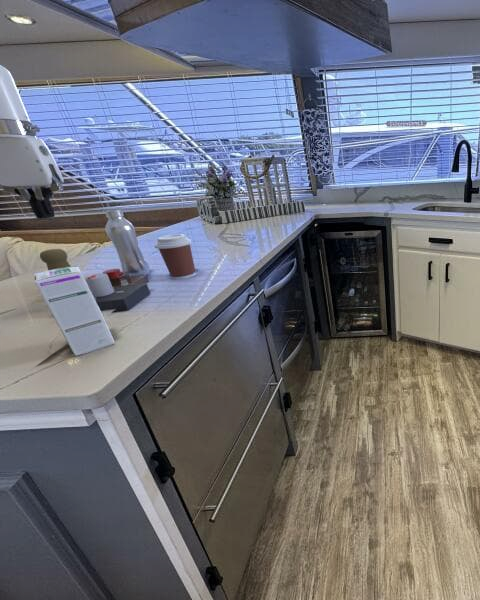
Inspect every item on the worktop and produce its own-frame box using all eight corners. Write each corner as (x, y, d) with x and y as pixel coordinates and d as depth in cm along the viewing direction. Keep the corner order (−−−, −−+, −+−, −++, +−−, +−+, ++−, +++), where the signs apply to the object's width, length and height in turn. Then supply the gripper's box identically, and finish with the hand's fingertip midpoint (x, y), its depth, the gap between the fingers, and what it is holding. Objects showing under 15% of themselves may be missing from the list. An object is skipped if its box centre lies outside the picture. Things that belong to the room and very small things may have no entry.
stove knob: (97, 291, 78) (89, 273, 76) (118, 289, 79) (110, 271, 77) (85, 298, 74) (76, 279, 72) (107, 296, 75) (99, 276, 73)
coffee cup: (198, 269, 104) (187, 232, 99) (203, 275, 97) (192, 236, 92) (164, 275, 98) (151, 237, 94) (168, 283, 92) (153, 241, 87)
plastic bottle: (148, 278, 97) (123, 210, 89) (121, 281, 95) (93, 212, 87) (154, 272, 102) (131, 207, 95) (129, 275, 100) (103, 209, 92)
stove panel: (57, 319, 72) (50, 306, 70) (88, 300, 81) (83, 289, 80) (128, 310, 74) (123, 298, 73) (150, 293, 84) (146, 282, 83)
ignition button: (102, 279, 85) (99, 273, 85) (110, 275, 89) (107, 269, 88) (117, 278, 86) (115, 271, 85) (124, 274, 89) (122, 268, 89)
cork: (48, 290, 90) (29, 252, 86) (74, 283, 95) (57, 246, 91) (63, 291, 88) (44, 253, 84) (88, 284, 94) (71, 247, 89)
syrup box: (116, 343, 60) (83, 269, 54) (73, 357, 56) (33, 279, 50) (110, 334, 64) (79, 264, 58) (70, 347, 60) (32, 272, 54)
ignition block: (85, 297, 84) (78, 283, 82) (105, 286, 92) (100, 272, 90) (132, 292, 86) (127, 278, 84) (148, 281, 94) (144, 268, 92)
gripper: (62, 133, 74) (93, 214, 81) (-18, 132, 71) (21, 217, 78) (37, 129, 67) (72, 218, 74) (-53, 128, 64) (-7, 221, 71)
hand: (46, 217), depth 76 cm, fingers closed
